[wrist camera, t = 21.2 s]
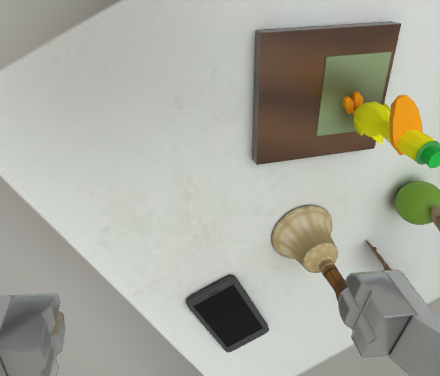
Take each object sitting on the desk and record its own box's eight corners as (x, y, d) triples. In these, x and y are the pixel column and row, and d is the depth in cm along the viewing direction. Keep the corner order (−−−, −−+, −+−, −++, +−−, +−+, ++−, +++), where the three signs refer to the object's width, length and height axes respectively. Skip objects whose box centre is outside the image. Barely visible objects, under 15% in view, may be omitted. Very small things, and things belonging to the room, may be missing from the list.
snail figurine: (416, 160, 46) (499, 214, 37) (427, 193, 50) (506, 250, 40) (378, 185, 47) (451, 244, 37) (392, 216, 51) (462, 278, 41)
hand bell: (338, 235, 50) (421, 334, 37) (285, 266, 50) (347, 374, 37) (320, 192, 45) (407, 287, 32) (261, 227, 46) (323, 334, 32)
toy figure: (328, 79, 36) (412, 123, 26) (361, 62, 36) (458, 100, 26) (342, 135, 40) (420, 193, 30) (372, 120, 40) (460, 173, 30)
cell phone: (226, 350, 56) (227, 354, 56) (183, 299, 48) (184, 303, 48) (269, 327, 56) (271, 331, 55) (232, 272, 48) (234, 276, 48)
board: (255, 30, 34) (261, 32, 32) (391, 21, 36) (402, 23, 35) (252, 158, 40) (257, 165, 39) (366, 143, 43) (375, 149, 42)
